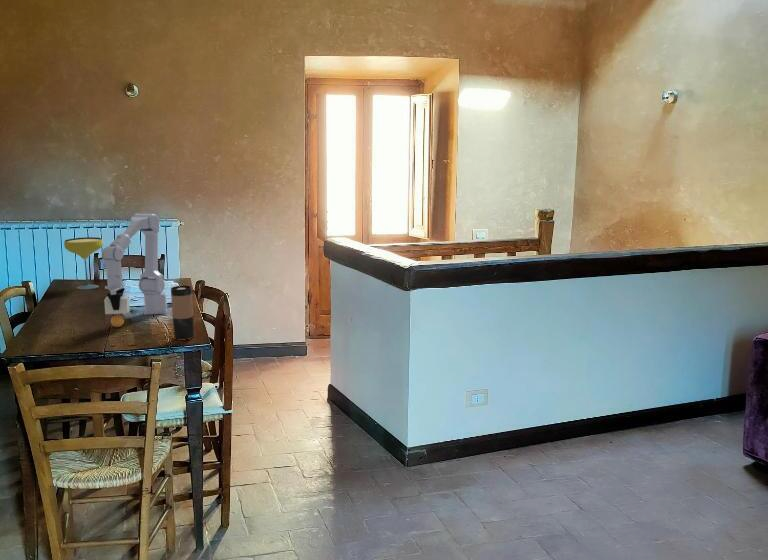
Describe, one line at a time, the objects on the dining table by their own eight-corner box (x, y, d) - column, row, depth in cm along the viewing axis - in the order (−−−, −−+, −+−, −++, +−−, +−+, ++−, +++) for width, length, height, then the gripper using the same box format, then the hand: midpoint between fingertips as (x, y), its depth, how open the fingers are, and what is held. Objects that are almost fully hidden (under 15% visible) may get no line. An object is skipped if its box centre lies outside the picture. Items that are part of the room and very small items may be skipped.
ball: (112, 313, 289) (110, 324, 289) (110, 315, 284) (109, 327, 285) (125, 314, 290) (123, 325, 291) (123, 317, 285) (122, 329, 286)
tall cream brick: (129, 309, 291) (128, 295, 289) (127, 313, 285) (126, 298, 284) (107, 310, 289) (106, 296, 287) (105, 314, 283) (104, 299, 282)
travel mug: (198, 336, 274) (195, 286, 269) (187, 341, 266) (183, 290, 262) (181, 334, 276) (178, 285, 272) (170, 339, 269) (166, 289, 265)
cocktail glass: (72, 284, 370) (67, 238, 365) (108, 283, 374) (104, 236, 369) (65, 292, 353) (60, 243, 348) (103, 290, 357) (99, 241, 352)
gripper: (106, 272, 290) (109, 304, 293) (101, 279, 276) (104, 313, 279) (124, 271, 291) (127, 303, 294) (120, 278, 277) (123, 311, 280)
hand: (117, 308), depth 286 cm, fingers closed on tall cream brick, 6 cm apart
